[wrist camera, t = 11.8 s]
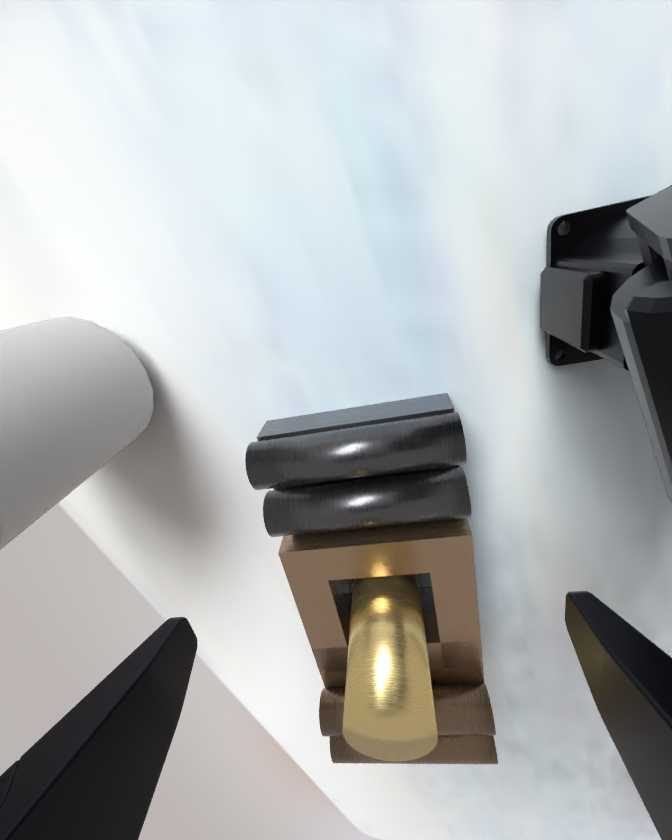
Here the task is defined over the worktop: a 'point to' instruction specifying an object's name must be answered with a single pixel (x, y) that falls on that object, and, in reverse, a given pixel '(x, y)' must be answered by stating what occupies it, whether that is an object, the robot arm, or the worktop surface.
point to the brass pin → (388, 671)
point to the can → (63, 412)
